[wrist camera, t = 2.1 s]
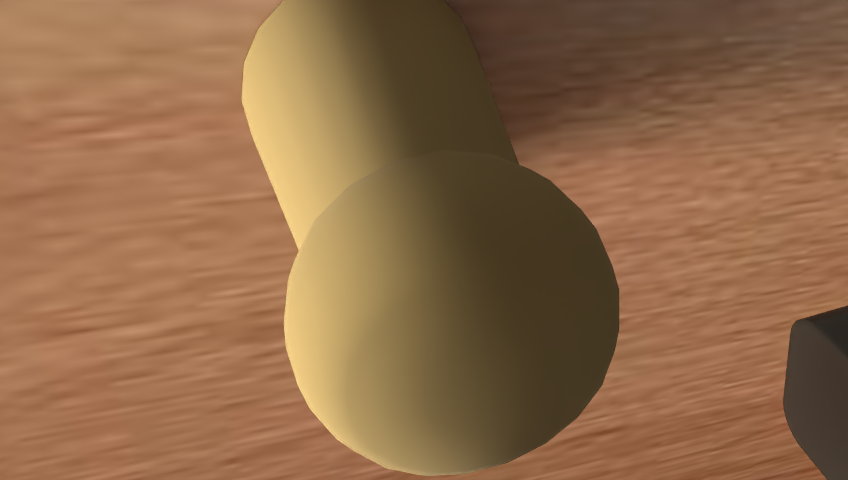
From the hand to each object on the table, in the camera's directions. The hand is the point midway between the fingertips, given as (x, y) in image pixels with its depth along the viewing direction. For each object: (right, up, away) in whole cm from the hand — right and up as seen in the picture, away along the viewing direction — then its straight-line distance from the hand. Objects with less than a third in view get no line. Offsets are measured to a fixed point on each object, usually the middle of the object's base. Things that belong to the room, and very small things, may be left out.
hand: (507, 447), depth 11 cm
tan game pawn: (-3, +7, +10) cm, 12 cm away
